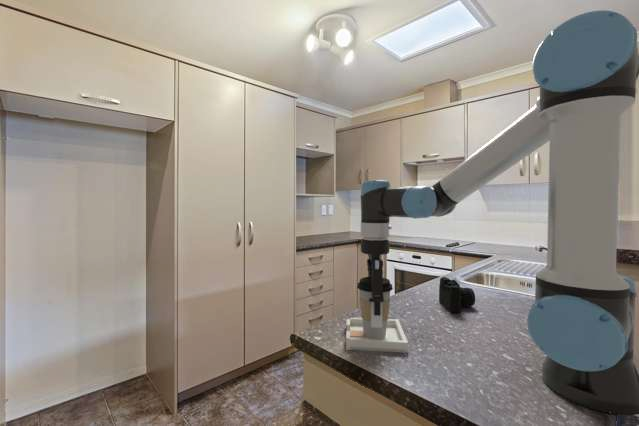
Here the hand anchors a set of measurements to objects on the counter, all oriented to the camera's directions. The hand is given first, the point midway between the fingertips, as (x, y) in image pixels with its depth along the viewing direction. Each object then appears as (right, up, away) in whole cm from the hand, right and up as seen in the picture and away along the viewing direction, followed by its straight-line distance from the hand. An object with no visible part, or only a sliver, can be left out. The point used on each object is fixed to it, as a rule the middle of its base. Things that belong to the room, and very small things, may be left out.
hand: (374, 317), depth 82 cm
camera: (+34, -5, +25) cm, 42 cm away
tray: (0, -6, 0) cm, 6 cm away
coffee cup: (0, -5, 0) cm, 5 cm away
